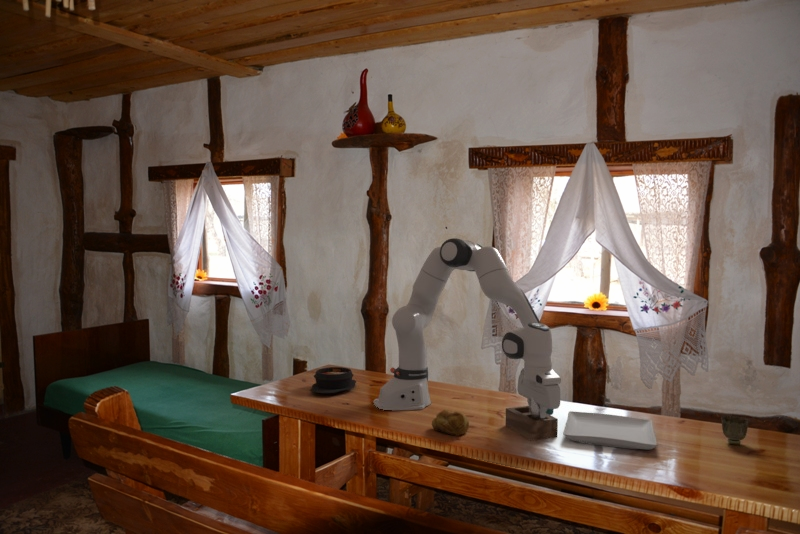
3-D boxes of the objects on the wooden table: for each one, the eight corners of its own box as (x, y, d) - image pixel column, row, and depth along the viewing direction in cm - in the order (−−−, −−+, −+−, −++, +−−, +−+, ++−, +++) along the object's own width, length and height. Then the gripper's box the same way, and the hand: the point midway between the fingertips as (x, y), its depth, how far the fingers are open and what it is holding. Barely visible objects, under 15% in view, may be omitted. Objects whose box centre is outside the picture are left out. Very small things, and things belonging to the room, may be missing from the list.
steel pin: (535, 429, 185) (535, 399, 185) (528, 426, 189) (529, 396, 188) (546, 428, 186) (546, 398, 186) (539, 424, 190) (539, 395, 190)
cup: (747, 449, 174) (748, 423, 174) (720, 445, 178) (720, 419, 178) (748, 442, 181) (748, 417, 180) (721, 438, 185) (721, 413, 184)
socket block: (530, 440, 182) (530, 422, 182) (505, 425, 197) (505, 408, 197) (557, 437, 186) (557, 418, 185) (530, 422, 201) (531, 405, 200)
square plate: (657, 456, 170) (658, 443, 170) (562, 445, 179) (562, 433, 179) (652, 428, 195) (652, 417, 195) (568, 420, 205) (568, 409, 204)
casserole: (329, 381, 260) (329, 363, 260) (366, 385, 253) (366, 366, 253) (299, 395, 237) (299, 374, 237) (339, 399, 230) (339, 379, 230)
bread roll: (426, 431, 192) (426, 407, 191) (442, 424, 199) (442, 401, 199) (459, 439, 184) (459, 414, 183) (474, 431, 191) (474, 408, 191)
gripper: (513, 367, 196) (512, 407, 196) (546, 381, 176) (546, 425, 177) (529, 366, 198) (528, 405, 198) (564, 379, 178) (563, 423, 179)
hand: (537, 415), depth 187 cm, fingers closed on steel pin, 4 cm apart
